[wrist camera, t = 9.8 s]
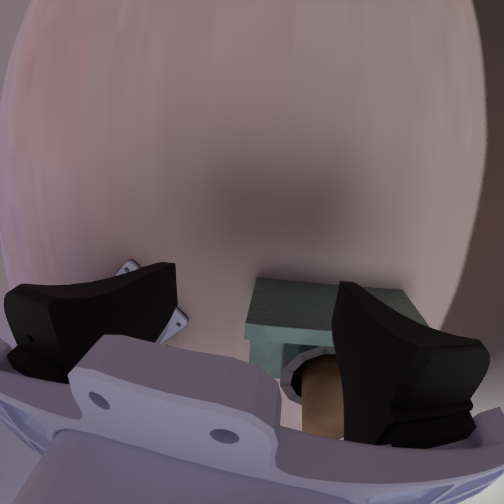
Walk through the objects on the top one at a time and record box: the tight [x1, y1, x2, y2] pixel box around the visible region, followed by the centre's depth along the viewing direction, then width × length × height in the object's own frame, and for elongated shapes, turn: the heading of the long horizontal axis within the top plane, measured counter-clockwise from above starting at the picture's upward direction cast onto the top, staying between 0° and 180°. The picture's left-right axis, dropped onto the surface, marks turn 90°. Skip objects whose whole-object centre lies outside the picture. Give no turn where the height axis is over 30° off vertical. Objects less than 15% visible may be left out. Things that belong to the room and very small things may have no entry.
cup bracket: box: [244, 278, 429, 405], centre depth 21 cm, size 10×13×7 cm
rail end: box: [301, 354, 344, 439], centre depth 19 cm, size 4×4×8 cm
